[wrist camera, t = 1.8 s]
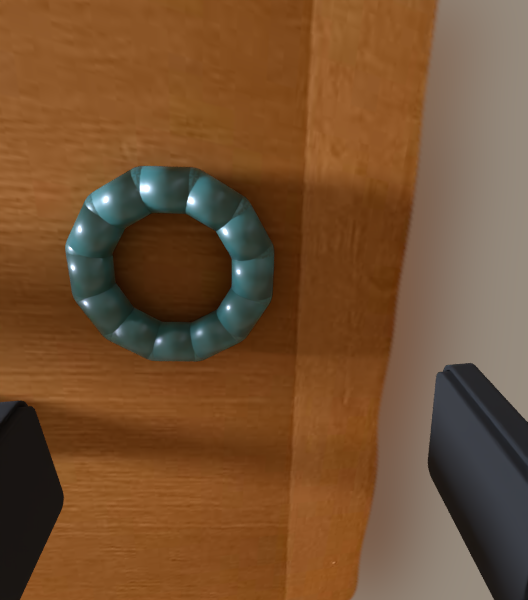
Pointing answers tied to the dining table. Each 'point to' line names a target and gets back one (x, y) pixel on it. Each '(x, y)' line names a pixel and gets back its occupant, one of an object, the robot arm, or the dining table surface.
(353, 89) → the dining table surface
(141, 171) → the ring
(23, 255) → the dining table surface
